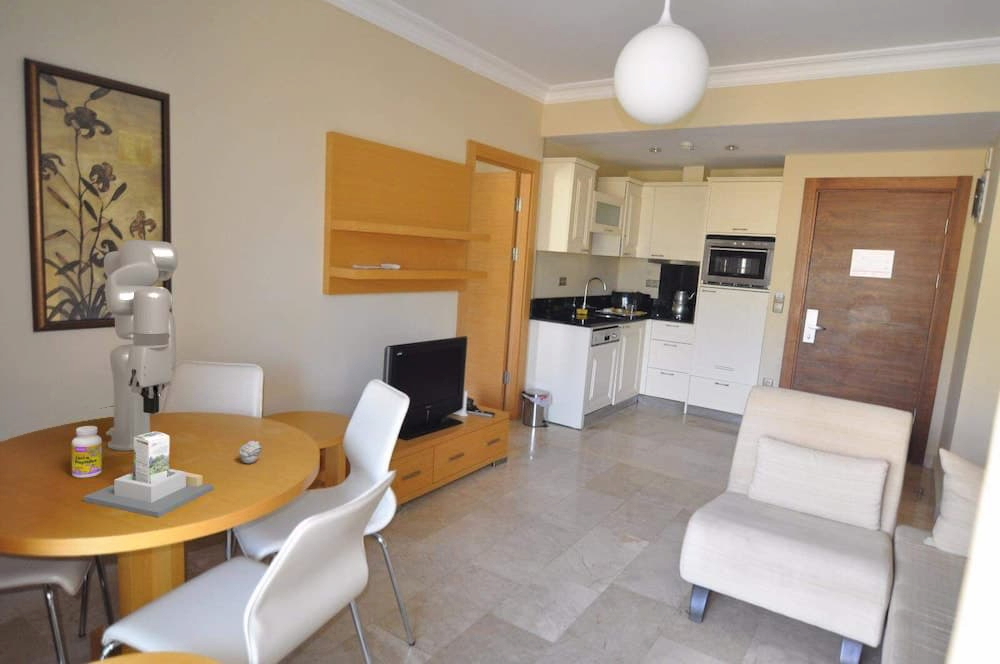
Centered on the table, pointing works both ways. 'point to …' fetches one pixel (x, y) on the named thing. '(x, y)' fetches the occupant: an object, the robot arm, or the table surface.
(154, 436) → the syrup box
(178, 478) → the socket jig
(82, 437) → the supplement bottle
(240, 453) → the white wrinkled round lump
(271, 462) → the table surface
